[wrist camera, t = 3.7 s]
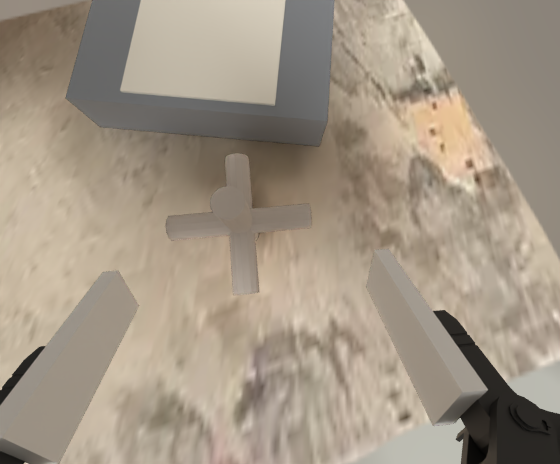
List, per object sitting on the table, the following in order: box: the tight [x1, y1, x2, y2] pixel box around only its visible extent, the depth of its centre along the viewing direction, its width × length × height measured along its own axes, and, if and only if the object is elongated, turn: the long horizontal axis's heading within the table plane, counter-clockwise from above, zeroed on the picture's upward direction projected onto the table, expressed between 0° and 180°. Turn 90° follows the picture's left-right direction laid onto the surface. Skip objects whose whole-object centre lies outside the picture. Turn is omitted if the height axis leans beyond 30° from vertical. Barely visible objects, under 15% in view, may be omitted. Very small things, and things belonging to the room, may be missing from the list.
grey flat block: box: [66, 0, 334, 146], centre depth 23 cm, size 22×13×4 cm, turn 85°
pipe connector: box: [166, 153, 312, 295], centre depth 17 cm, size 10×10×10 cm
